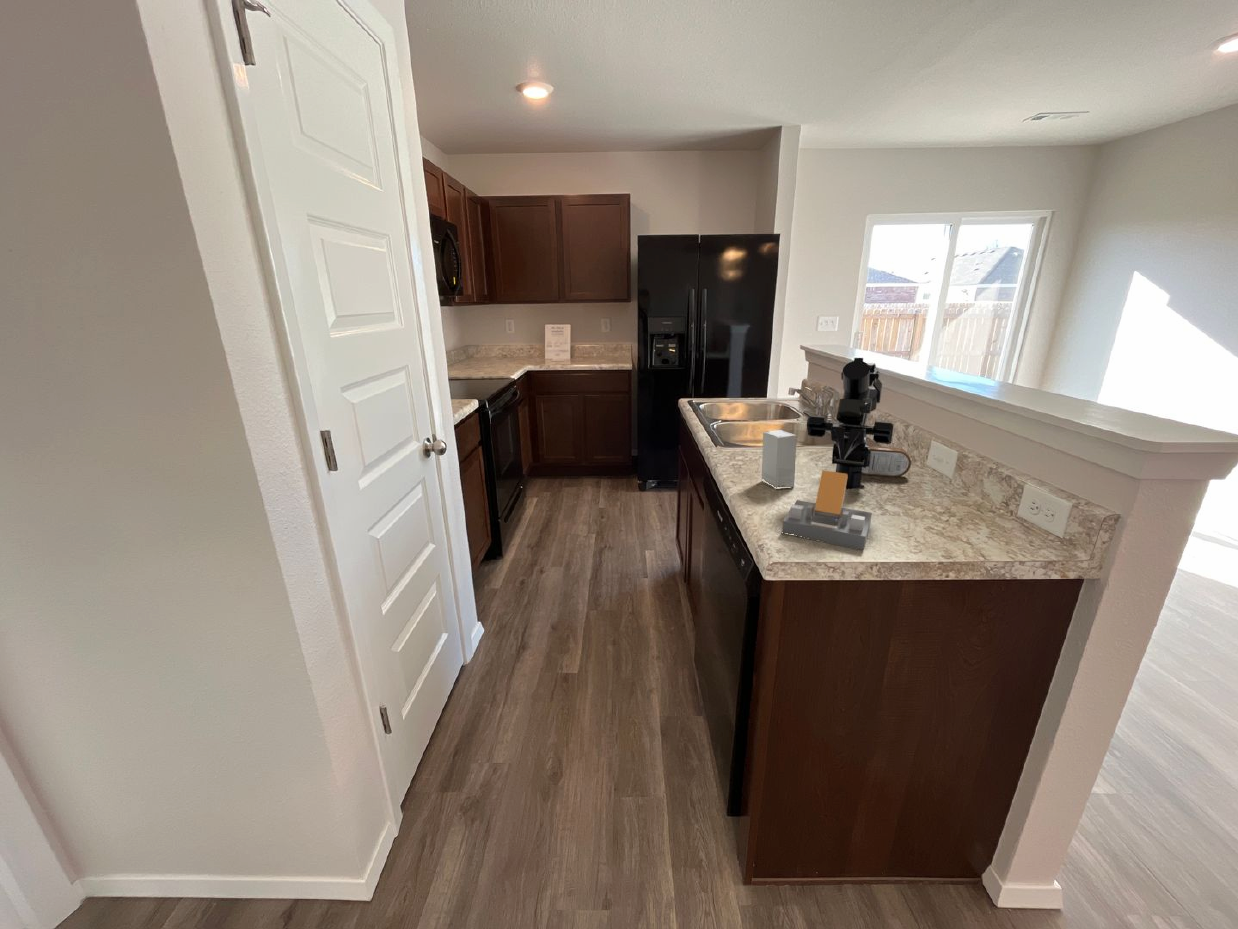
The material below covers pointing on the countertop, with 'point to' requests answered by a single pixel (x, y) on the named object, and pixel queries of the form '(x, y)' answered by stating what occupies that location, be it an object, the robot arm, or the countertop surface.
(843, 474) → the lever
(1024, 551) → the countertop surface
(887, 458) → the tin
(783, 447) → the skincare box
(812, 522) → the box
